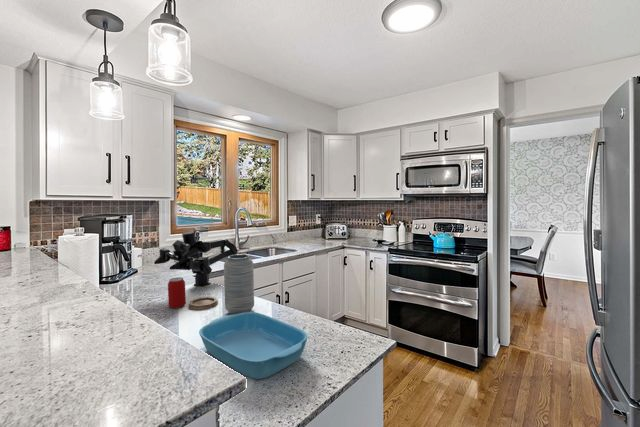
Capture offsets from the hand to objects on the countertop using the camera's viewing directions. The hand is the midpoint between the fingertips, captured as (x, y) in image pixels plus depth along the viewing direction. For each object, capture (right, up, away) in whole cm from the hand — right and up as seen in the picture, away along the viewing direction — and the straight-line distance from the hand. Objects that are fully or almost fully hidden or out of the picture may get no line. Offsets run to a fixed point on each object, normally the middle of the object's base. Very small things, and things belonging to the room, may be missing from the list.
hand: (162, 265), depth 142 cm
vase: (+40, -17, -15) cm, 45 cm away
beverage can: (+11, -16, -8) cm, 21 cm away
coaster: (+22, -16, -6) cm, 28 cm away
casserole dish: (+52, -19, -49) cm, 74 cm away
